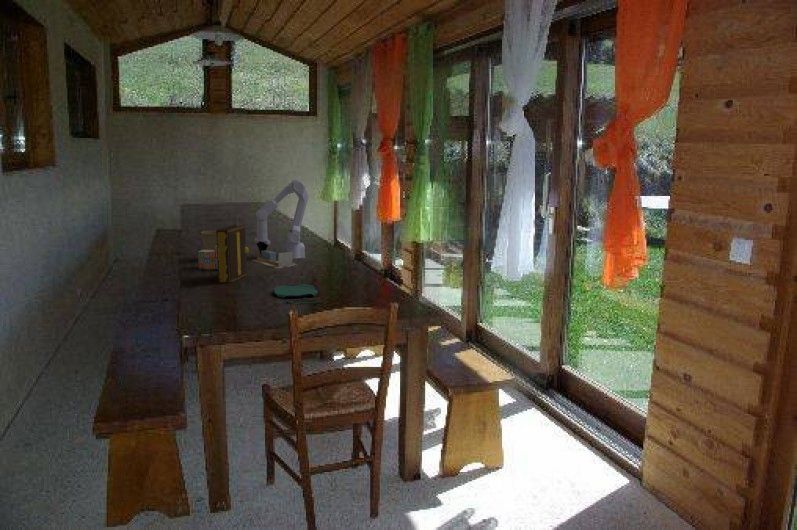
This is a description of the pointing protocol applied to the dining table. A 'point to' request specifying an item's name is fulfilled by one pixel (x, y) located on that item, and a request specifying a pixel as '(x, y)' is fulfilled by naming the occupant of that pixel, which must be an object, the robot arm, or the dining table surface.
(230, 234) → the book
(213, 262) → the stack of blocks
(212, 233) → the plant pot
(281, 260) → the shelf slot
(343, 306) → the dining table surface
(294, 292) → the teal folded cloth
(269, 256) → the blue-grey rectangular block
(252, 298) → the dining table surface
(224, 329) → the dining table surface
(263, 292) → the dining table surface
